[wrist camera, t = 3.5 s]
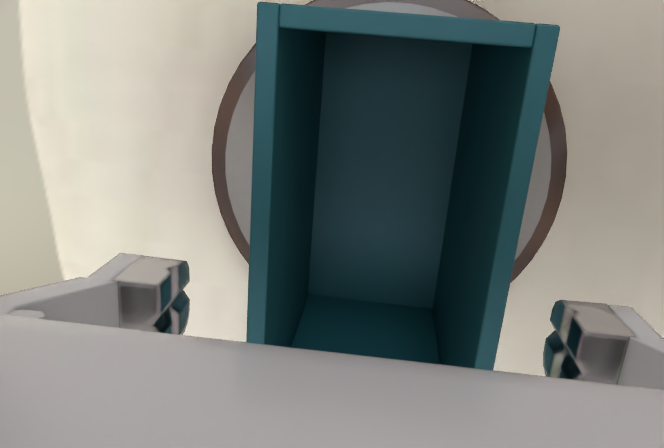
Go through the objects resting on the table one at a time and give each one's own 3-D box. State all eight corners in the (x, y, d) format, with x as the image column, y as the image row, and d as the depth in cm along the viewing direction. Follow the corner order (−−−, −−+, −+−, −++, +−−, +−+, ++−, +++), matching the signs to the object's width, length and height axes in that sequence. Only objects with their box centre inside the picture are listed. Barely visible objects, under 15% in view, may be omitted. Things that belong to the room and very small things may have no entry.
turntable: (353, -98, 22) (350, -108, 20) (636, 138, 23) (652, 144, 22) (159, 194, 26) (145, 202, 25) (407, 374, 28) (408, 392, 27)
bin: (486, 31, 21) (561, 25, 12) (441, 314, 25) (471, 481, 16) (313, 17, 22) (252, 1, 12) (295, 297, 26) (239, 450, 16)
